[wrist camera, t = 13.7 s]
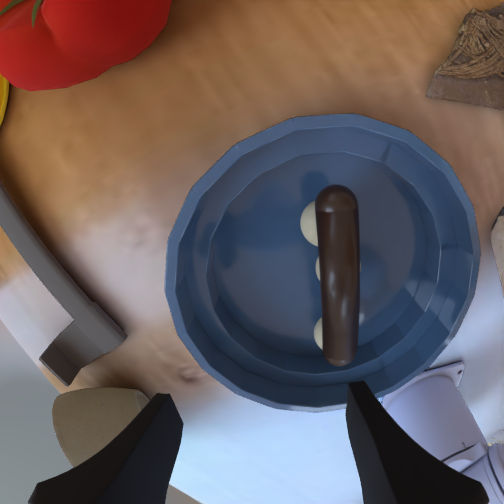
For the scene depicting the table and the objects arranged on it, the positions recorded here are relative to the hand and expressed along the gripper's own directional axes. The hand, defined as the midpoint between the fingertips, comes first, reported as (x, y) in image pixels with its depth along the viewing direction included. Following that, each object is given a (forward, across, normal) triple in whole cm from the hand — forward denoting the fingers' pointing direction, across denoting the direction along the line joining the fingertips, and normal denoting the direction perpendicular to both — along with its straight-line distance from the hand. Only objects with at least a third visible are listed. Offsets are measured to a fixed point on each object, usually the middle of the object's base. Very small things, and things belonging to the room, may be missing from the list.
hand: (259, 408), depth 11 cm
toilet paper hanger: (+6, +19, -5) cm, 20 cm away
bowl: (+9, -4, -2) cm, 10 cm away
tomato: (+9, +7, -20) cm, 23 cm away
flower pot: (+7, +10, +9) cm, 16 cm away
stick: (+6, -4, -2) cm, 8 cm away
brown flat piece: (+9, -24, -16) cm, 30 cm away
